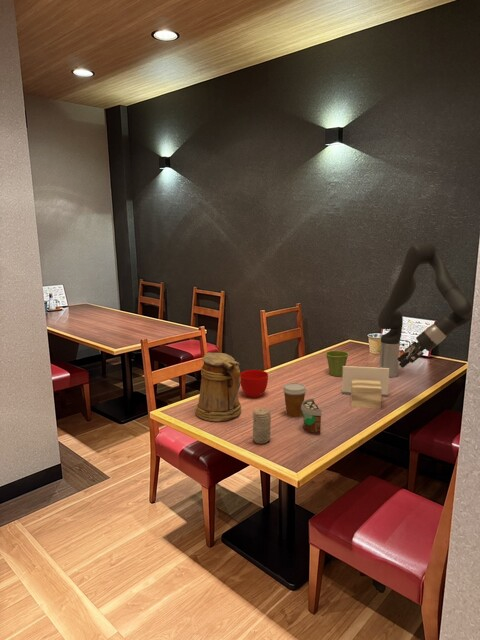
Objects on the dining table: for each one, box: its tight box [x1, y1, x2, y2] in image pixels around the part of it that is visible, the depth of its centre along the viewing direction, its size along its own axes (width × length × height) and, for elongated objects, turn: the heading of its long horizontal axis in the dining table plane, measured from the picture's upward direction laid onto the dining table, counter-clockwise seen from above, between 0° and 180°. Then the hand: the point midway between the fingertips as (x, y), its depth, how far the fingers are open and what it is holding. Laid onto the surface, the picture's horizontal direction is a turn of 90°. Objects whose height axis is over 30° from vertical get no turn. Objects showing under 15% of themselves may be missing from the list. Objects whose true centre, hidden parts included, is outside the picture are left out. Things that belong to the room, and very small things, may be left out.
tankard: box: [195, 352, 242, 423], centre depth 187 cm, size 18×24×25 cm
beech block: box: [350, 379, 382, 410], centre depth 198 cm, size 10×12×9 cm
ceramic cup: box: [240, 369, 269, 399], centre depth 212 cm, size 13×17×10 cm
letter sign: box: [341, 365, 390, 398], centre depth 209 cm, size 6×20×13 cm, turn 77°
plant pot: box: [325, 350, 350, 377], centre depth 236 cm, size 12×12×11 cm
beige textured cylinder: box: [252, 407, 272, 444], centre depth 165 cm, size 6×8×12 cm
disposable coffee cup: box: [282, 382, 307, 418], centre depth 188 cm, size 10×10×12 cm
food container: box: [301, 398, 322, 435], centre depth 174 cm, size 12×6×10 cm, turn 5°
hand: (399, 363), depth 192 cm, fingers open, 7 cm apart
